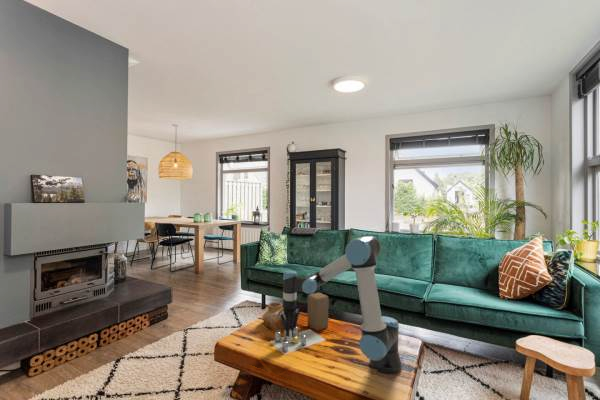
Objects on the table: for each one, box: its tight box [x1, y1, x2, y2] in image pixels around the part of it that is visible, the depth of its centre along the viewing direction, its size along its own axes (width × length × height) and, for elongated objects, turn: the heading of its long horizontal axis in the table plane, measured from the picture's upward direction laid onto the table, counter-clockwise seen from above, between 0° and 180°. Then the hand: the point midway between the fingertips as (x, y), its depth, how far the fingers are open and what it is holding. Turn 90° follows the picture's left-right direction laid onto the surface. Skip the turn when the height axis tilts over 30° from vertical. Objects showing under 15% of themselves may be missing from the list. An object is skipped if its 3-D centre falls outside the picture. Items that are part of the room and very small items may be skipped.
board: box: [269, 328, 327, 355], centre depth 165 cm, size 16×28×1 cm, turn 125°
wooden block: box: [307, 292, 329, 331], centre depth 186 cm, size 10×10×20 cm
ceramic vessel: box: [262, 301, 286, 334], centre depth 183 cm, size 14×26×15 cm, turn 37°
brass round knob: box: [290, 335, 298, 344], centre depth 164 cm, size 5×5×3 cm
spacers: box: [274, 325, 306, 353], centre depth 163 cm, size 14×17×5 cm
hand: (289, 341), depth 162 cm, fingers closed
